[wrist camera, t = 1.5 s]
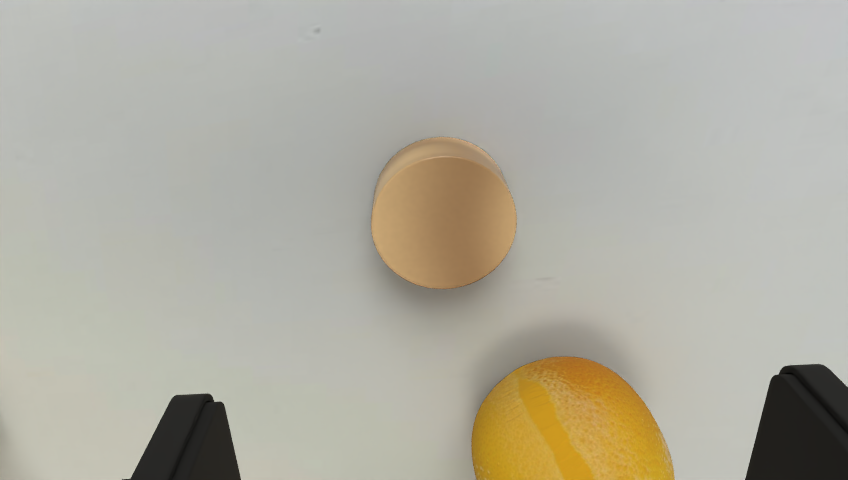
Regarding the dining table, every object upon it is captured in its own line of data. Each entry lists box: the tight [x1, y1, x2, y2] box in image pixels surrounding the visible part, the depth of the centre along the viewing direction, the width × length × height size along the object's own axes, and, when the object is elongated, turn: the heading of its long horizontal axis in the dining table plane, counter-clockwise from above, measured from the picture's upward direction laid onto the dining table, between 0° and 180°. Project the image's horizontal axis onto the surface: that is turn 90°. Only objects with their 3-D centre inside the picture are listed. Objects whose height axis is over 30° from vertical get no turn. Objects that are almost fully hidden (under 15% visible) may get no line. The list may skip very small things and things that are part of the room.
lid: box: [371, 137, 517, 289], centre depth 24 cm, size 6×6×2 cm
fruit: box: [472, 357, 674, 480], centre depth 26 cm, size 9×8×8 cm
